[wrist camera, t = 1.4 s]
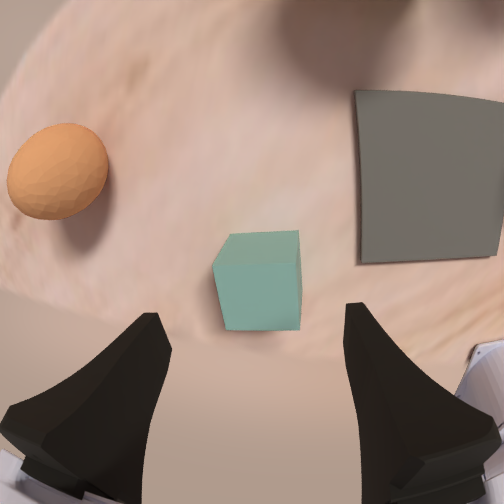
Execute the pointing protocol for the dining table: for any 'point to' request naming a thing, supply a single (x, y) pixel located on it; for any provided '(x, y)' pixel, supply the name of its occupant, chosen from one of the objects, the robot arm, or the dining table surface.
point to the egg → (57, 172)
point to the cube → (260, 281)
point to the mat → (429, 175)
